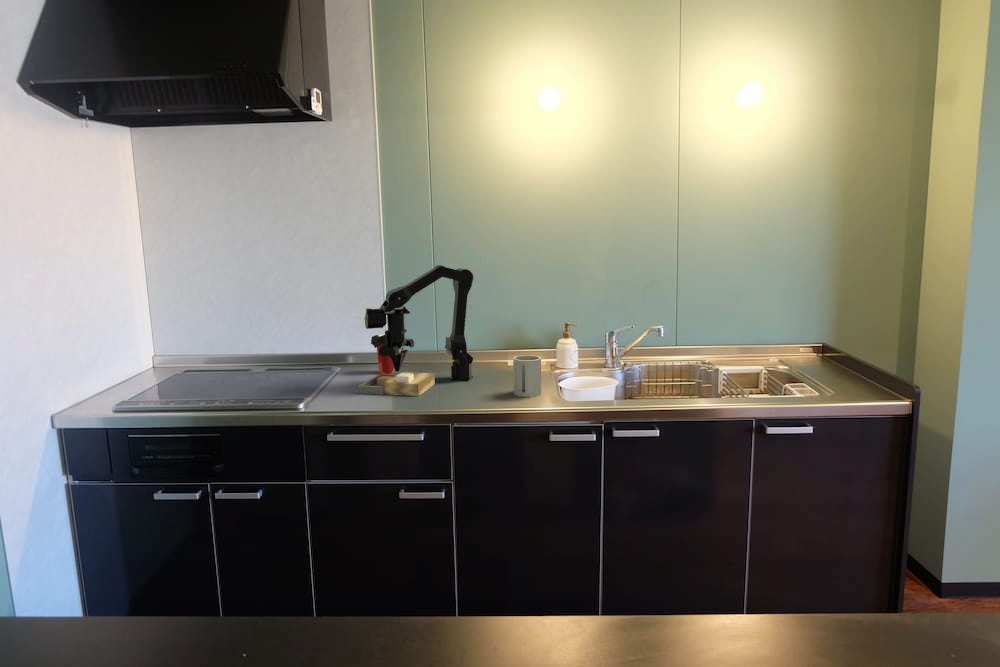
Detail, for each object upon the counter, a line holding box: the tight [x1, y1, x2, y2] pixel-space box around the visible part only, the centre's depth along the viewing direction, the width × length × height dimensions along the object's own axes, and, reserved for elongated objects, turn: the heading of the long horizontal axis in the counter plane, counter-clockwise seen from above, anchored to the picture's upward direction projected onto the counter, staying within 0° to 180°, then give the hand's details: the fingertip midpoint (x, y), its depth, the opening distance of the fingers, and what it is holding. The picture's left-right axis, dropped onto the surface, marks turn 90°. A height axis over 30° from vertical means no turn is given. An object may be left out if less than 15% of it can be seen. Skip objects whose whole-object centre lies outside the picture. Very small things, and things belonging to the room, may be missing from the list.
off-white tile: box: [396, 372, 414, 383], centre depth 228 cm, size 4×4×2 cm
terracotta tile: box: [377, 376, 392, 385], centre depth 240 cm, size 4×4×2 cm
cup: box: [512, 354, 542, 398], centre depth 226 cm, size 9×9×12 cm
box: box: [357, 373, 397, 396], centre depth 236 cm, size 9×18×2 cm, turn 166°
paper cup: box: [376, 333, 395, 375], centre depth 258 cm, size 8×8×14 cm
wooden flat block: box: [384, 371, 436, 397], centre depth 233 cm, size 12×16×4 cm
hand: (397, 371), depth 238 cm, fingers closed
